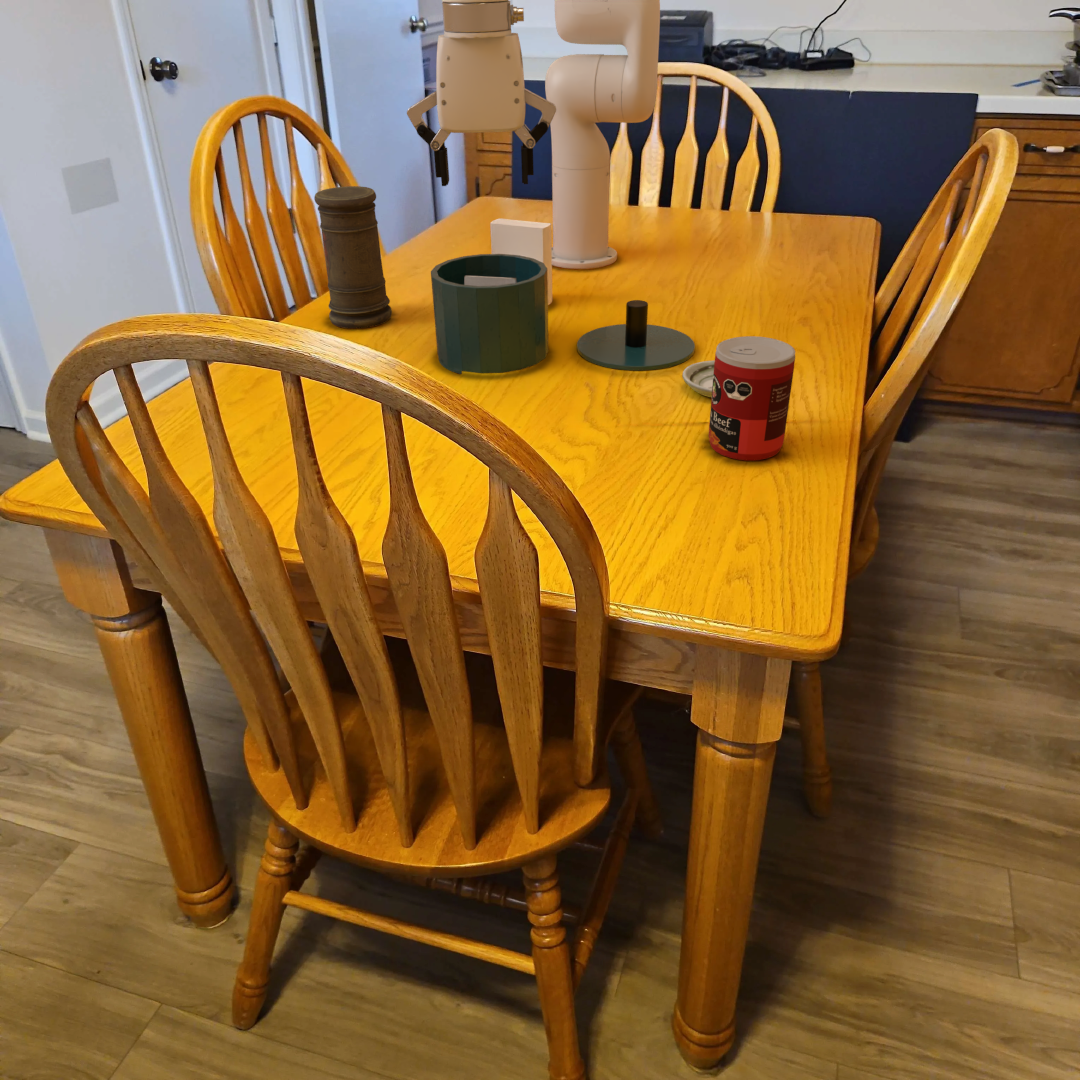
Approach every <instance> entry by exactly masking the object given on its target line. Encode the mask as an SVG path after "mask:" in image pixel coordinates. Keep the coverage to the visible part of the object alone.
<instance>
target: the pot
mask: <svg viewBox="0 0 1080 1080" xmlns="http://www.w3.org/2000/svg"><path fill="white" fill-rule="evenodd" d="M465 276H485V277H504V278H516V281H517V283H513V284H505V285H498V286H471V285H464V281H465ZM430 278H431V279H430V280H431V281H430V282H431V291H432V292H431V295H432V304H433V305H432V306H433V317H434V329H435V341H436V352H437V358H438V362H439V364H440V365H441V366H442V367H443V368H444V369H446V370H448V371H450V372H452V373H456V374H459V375H462V374H463V373H462V372H467V373H475V374H501V373H502V374H503V373H510V372H516V371H521V370H524V369H528V368H530V367H533V366H536V365H537V364H539V363H541V362H542V361H543V360H545V359H546V357H547V356H548V353H549V349H550V348H549V305H548V280H547V267H546V266H545V265H544V263H542V262H540V261H538V260H536V259H534V258H529V257H524V256H520V255H509V254H492V253H478V254H471V255H464V256H458V257H456V258H451V259H447V260H445V261H442V262H440V263H439V264H436V265H435V266H434V267H433V268H432V269H431V271H430Z"/></svg>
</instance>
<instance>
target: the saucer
mask: <svg viewBox="0 0 1080 1080" xmlns="http://www.w3.org/2000/svg"><path fill="white" fill-rule="evenodd" d="M714 362H715V359H714V360H704V361H699V362H695V363H692V364H690V365H688V366H687V367H686V368H684V370H683V371H682V375H681V376H682V379H683V381H684V382H685V384H686V385H688V387H689V388H691V389H692V390H693V391H694V392H696V393H697V394H699V395H702V396H704V397H708V398H710V399H712V386H713V374H714Z"/></svg>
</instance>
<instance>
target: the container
mask: <svg viewBox="0 0 1080 1080" xmlns="http://www.w3.org/2000/svg"><path fill="white" fill-rule="evenodd" d="M313 197H314V203H315V204H317V206H318V207H317V211H318V212H319V218H320V225H319V228H320V230H321V237H322V246H323V252H324V259H325V260H324V261H325V267H326V275H327V288H328V293H329V303H328V309H329V310H330V312H329V315H328V317H329V321H330V323H331V324H332V325H334V326H335V327H338V328H342V329H367V328H373V327H377V326H380V325H382V324H385V323H387V322H388V321H389V320H390V319H391V318H392V314H393V310H392V307H391V306H390V305H389V304H390V303H391V299H390V298H389V297H388V295H387V289H386V278H385V276H384V269H383V262H382V253H381V244H380V237H379V229H378V222H379V221H378V220H377V217H376V206H377V205H376V203H375V201H376V199H377V194H376V191H375V190H374V188H371V187H367V186H359V185H355V186H354V185H349V186H346V185H345V186H338V187H337V186H335V187H330V188H325V189H322V190H319V191H317V192H315V194H314V196H313Z"/></svg>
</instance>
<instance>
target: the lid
mask: <svg viewBox="0 0 1080 1080" xmlns="http://www.w3.org/2000/svg"><path fill="white" fill-rule="evenodd" d="M625 304H626V305H625V323H623V324H622V323H621V324H620V323H619V324H613V325H606V326H602V327H599V328H595V329H591V330H590V331H588V332H586V333H584V334H583V335H581V336H580V337H579V339H577V342H576V350H577V353H578V355H579V356H580V357H581V358H583V359H584V360H586V361H587V362H589V363H591V364H594V365H597V366H600V367H603V368H608V369H615V370H621V371H638V372H639V371H654V370H662V369H668V368H671V367H675V366H678V365H680V364H683V363H685V362H686V361H688V360H690V359H691V358H692V357H693V355H694V354H695V350H696V349H695V348H696V345H695V341H694V340H693V338H691V337H690V336H689V335H687V334H685V333H684V332H682V331H679V330H677V329H673V328H670V327H667V326H663V325H662V326H661V325H655V324H649V323H648V315H649V311H648V310H649V303H648V302H647V301H645V300H641V299H632V300H629V301H627V302H626V303H625Z"/></svg>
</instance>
